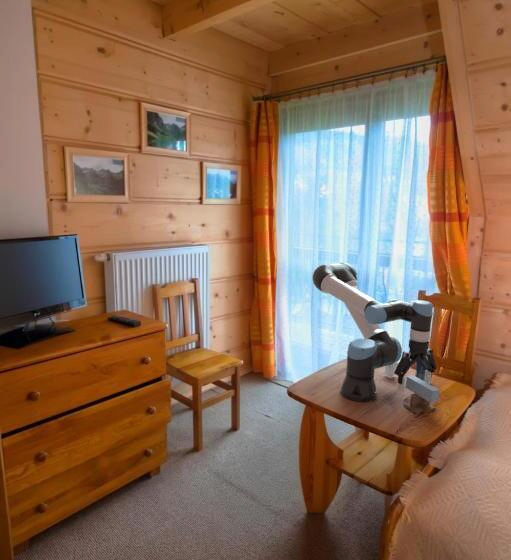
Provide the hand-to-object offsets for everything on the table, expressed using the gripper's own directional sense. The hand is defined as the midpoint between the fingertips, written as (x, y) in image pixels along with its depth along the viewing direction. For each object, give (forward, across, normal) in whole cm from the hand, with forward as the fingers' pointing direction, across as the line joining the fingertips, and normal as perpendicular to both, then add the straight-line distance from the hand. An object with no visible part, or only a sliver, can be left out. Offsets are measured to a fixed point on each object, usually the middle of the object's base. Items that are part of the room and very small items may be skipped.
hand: (413, 388), depth 176 cm
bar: (+1, 0, +4) cm, 4 cm away
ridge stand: (+7, 0, +4) cm, 8 cm away
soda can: (+7, -20, -15) cm, 26 cm away
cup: (+7, -10, -27) cm, 30 cm away
